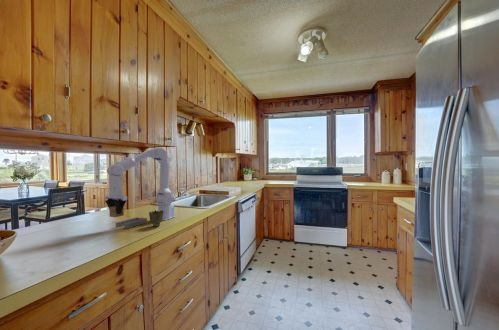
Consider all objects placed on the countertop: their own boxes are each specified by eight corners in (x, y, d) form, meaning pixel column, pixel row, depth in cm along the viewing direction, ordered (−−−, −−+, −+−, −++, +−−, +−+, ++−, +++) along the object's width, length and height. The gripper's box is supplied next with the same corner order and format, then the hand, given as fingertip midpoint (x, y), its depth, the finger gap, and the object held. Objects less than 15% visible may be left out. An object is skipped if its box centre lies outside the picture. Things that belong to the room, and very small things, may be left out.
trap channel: (137, 221, 131) (137, 216, 131) (147, 222, 128) (147, 218, 128) (115, 227, 118) (115, 222, 118) (125, 228, 115) (125, 224, 115)
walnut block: (117, 214, 117) (117, 205, 117) (123, 215, 116) (123, 205, 116) (109, 216, 113) (109, 206, 113) (115, 217, 111) (115, 207, 111)
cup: (166, 224, 123) (166, 210, 123) (159, 228, 116) (159, 213, 116) (153, 224, 124) (153, 209, 124) (146, 227, 116) (146, 212, 116)
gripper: (98, 187, 113) (99, 213, 113) (117, 188, 107) (118, 216, 108) (111, 186, 120) (112, 211, 120) (130, 187, 114) (131, 213, 114)
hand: (116, 213), depth 114 cm, fingers closed on walnut block, 4 cm apart
